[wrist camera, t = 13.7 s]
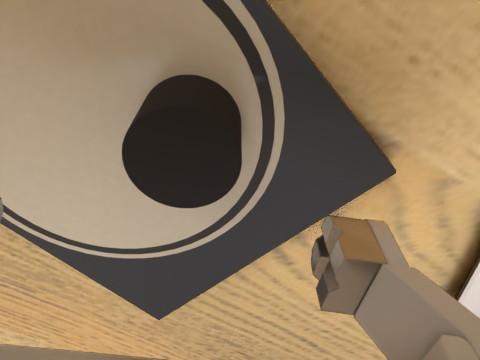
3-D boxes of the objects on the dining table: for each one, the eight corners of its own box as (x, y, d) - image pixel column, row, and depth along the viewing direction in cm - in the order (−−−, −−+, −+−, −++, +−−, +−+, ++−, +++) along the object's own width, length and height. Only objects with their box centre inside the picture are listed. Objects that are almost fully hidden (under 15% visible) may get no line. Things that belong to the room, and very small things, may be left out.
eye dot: (120, 119, 15) (96, 157, 12) (190, 51, 13) (179, 78, 11) (192, 181, 16) (183, 226, 14) (261, 127, 15) (266, 166, 12)
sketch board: (-212, 70, 15) (-247, 80, 14) (-16, -364, 9) (-50, -404, 8) (161, 307, 23) (157, 325, 22) (390, 161, 17) (400, 176, 16)
